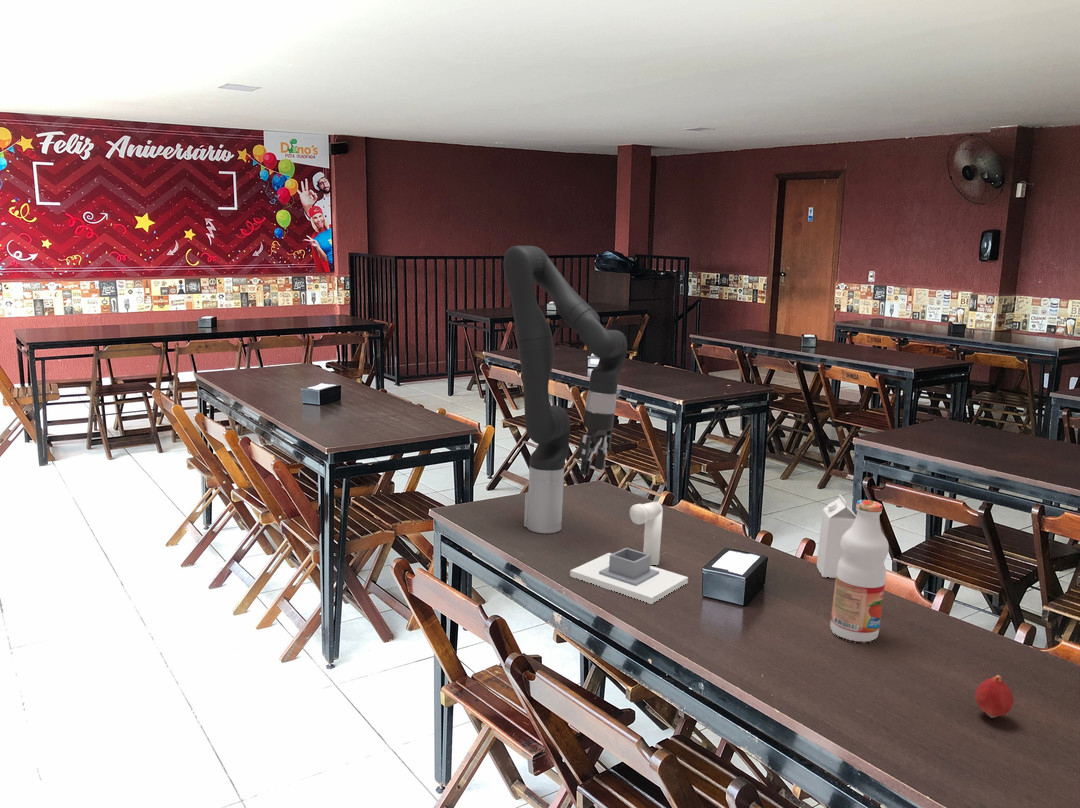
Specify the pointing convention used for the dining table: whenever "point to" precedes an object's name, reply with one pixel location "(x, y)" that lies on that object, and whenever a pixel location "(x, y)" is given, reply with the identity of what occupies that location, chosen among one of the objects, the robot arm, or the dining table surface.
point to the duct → (630, 575)
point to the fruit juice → (860, 576)
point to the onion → (994, 697)
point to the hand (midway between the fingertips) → (591, 471)
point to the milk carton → (833, 535)
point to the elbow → (649, 527)
